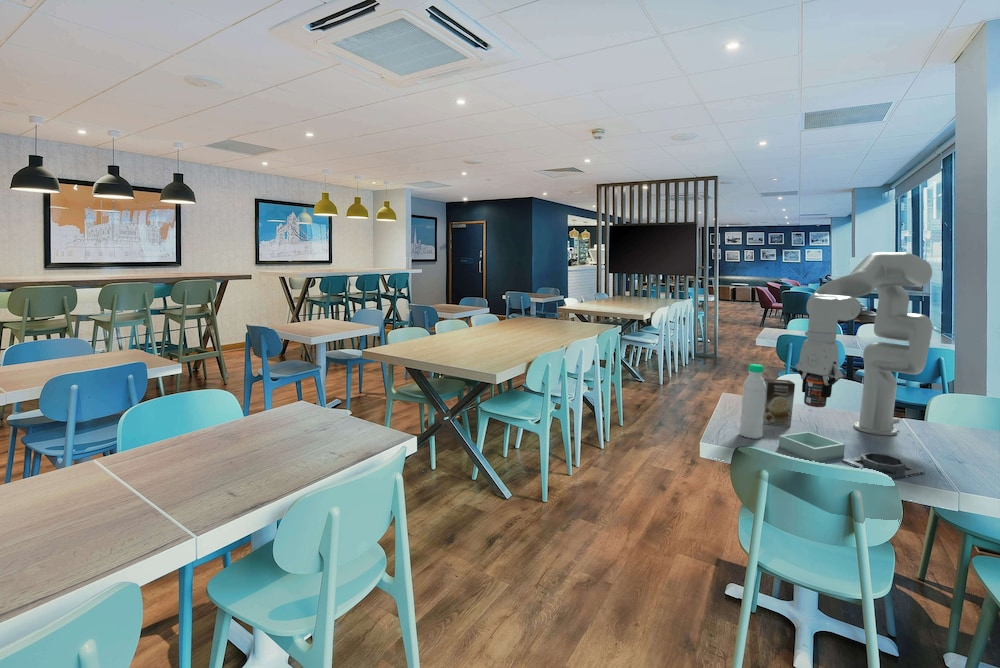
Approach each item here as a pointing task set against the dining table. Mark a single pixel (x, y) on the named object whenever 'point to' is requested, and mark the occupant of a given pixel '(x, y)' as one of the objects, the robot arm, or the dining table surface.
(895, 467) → the square bottle holder
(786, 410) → the coffee box
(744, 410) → the water bottle
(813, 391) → the supplement bottle
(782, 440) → the bin
